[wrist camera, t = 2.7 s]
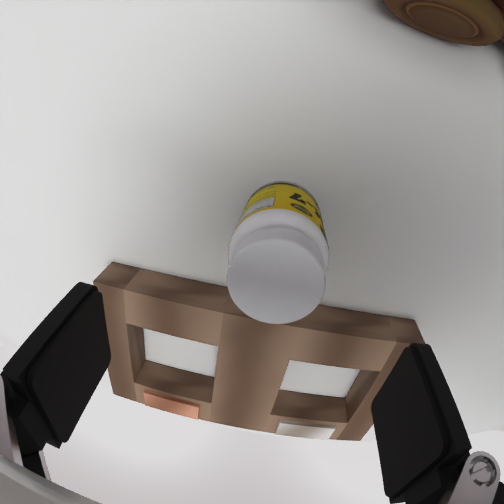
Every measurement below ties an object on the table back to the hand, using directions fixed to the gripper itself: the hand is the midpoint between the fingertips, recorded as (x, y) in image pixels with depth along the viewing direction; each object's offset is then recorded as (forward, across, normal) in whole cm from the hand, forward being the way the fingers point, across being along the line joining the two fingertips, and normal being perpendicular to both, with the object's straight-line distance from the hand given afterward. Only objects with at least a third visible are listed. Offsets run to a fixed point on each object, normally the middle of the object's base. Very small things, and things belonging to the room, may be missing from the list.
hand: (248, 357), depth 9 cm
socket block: (+12, -1, +12) cm, 18 cm away
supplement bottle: (+13, -1, 0) cm, 13 cm away
